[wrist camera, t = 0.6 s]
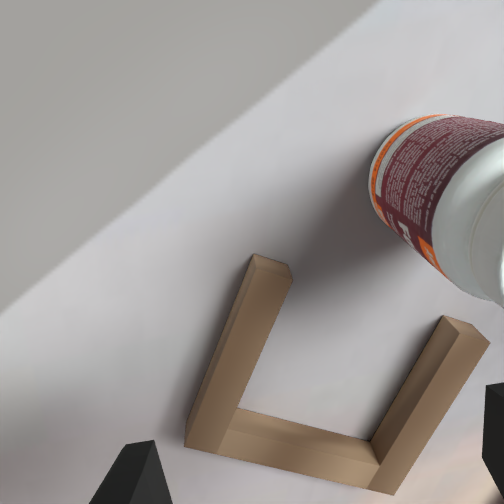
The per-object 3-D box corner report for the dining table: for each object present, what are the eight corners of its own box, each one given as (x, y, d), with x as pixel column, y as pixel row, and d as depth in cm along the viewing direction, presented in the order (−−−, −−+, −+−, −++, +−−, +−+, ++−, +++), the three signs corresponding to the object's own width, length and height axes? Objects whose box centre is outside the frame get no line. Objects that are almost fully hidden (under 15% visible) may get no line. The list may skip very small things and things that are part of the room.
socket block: (471, 324, 20) (490, 342, 19) (383, 470, 23) (393, 495, 22) (253, 253, 18) (256, 268, 17) (186, 422, 21) (183, 446, 20)
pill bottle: (347, 214, 18) (444, 321, 10) (396, 95, 17) (555, 113, 9) (450, 247, 19) (613, 368, 11) (507, 135, 17) (742, 185, 10)
